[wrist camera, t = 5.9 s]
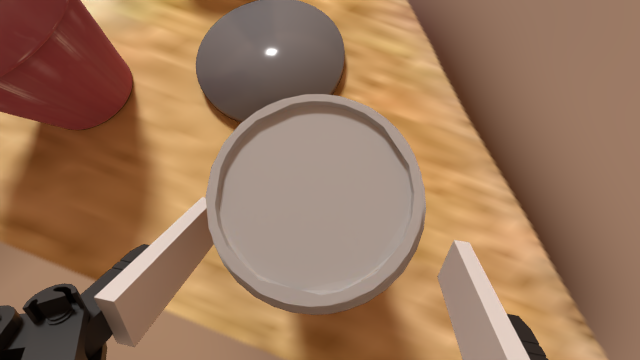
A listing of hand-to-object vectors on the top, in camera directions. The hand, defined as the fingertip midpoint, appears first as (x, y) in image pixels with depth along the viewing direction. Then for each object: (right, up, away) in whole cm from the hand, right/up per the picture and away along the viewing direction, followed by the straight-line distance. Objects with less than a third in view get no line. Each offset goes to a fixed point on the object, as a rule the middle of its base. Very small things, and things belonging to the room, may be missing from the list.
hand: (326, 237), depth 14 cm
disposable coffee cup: (0, -1, +7) cm, 7 cm away
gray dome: (-5, +15, +12) cm, 21 cm away
